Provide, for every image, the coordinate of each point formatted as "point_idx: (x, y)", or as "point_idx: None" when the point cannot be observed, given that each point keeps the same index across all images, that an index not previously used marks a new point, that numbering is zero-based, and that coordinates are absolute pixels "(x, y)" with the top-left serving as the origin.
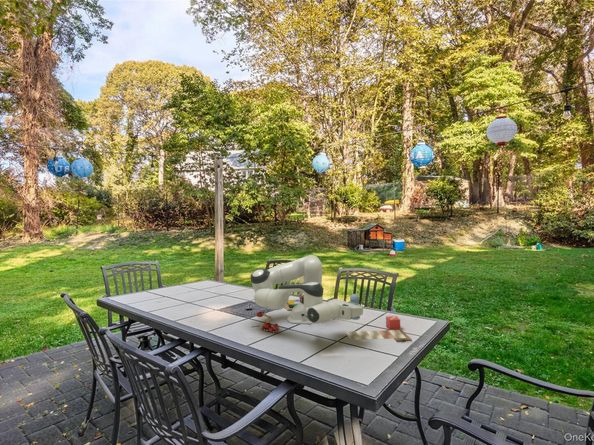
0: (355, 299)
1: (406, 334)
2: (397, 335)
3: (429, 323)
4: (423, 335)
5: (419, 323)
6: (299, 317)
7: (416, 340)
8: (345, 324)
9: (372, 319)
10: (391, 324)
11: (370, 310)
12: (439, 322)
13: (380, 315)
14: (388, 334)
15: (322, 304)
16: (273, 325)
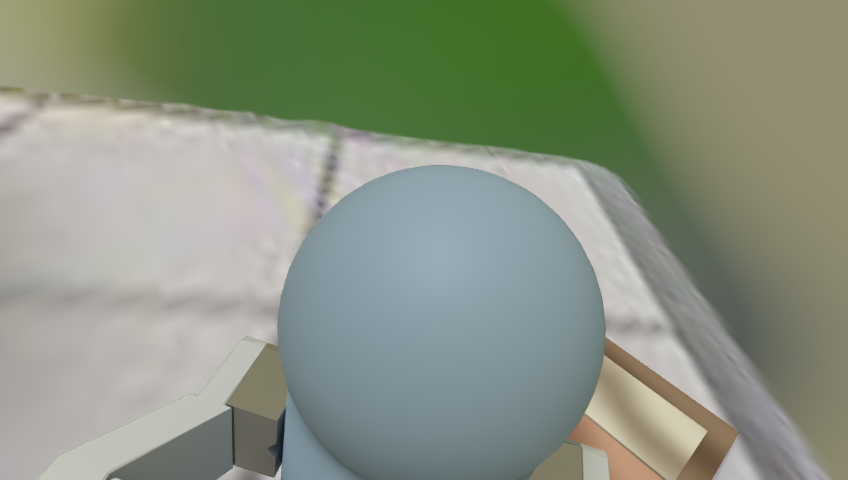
0: (566, 427)
1: (646, 366)
2: (632, 418)
3: (576, 191)
4: (676, 318)
5: (546, 202)
6: None
7: (722, 404)
8: (109, 372)
9: (305, 223)
10: None
11: (244, 134)
12: (595, 175)
13: (326, 171)
14: (576, 435)
15: None
16: None
